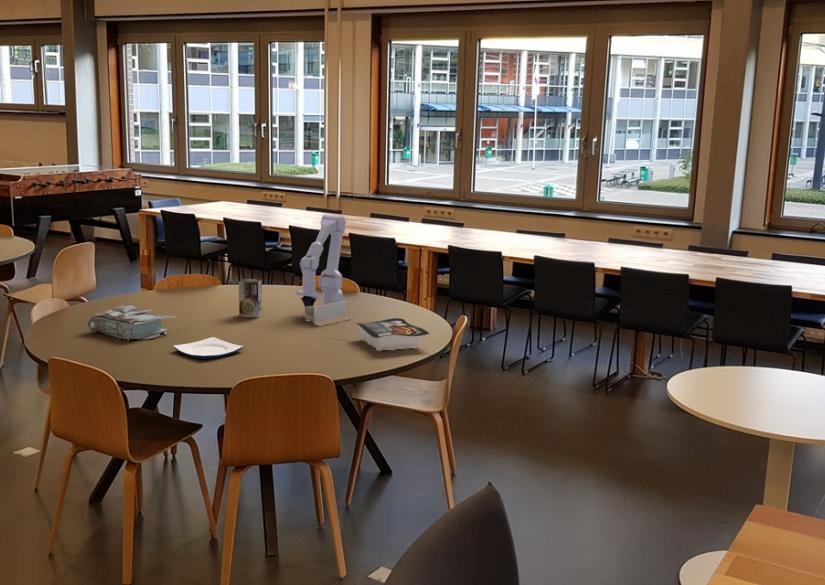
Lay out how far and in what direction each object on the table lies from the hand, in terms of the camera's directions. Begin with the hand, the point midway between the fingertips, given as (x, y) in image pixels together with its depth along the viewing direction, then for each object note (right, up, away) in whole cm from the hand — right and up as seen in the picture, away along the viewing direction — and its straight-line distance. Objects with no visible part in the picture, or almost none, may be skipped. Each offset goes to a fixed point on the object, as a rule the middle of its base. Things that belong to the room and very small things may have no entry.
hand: (308, 312), depth 378 cm
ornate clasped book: (-67, -8, -39) cm, 78 cm away
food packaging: (+38, -12, -41) cm, 57 cm away
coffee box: (-25, -1, -4) cm, 26 cm away
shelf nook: (+7, -3, -6) cm, 10 cm away
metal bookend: (+12, -4, -10) cm, 16 cm away
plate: (-30, -14, -62) cm, 70 cm away
